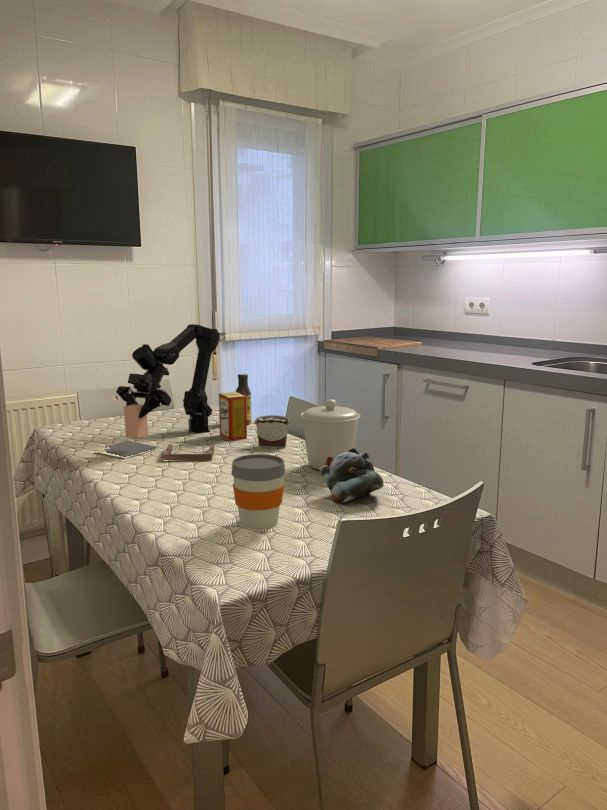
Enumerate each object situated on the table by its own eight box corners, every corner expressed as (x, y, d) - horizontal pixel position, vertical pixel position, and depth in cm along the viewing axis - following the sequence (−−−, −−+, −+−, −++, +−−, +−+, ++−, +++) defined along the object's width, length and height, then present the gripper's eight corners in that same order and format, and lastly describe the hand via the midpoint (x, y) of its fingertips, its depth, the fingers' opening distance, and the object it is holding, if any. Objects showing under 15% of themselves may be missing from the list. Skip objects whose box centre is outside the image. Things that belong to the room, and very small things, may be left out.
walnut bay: (168, 450, 207) (168, 444, 207) (214, 449, 208) (214, 444, 208) (163, 461, 195) (162, 455, 195) (211, 460, 196) (211, 454, 196)
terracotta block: (135, 433, 206) (133, 403, 204) (147, 434, 204) (146, 405, 202) (125, 436, 202) (123, 406, 200) (138, 438, 200) (136, 408, 198)
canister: (355, 477, 180) (357, 406, 176) (294, 473, 183) (295, 403, 179) (362, 460, 197) (363, 395, 193) (306, 456, 201) (307, 393, 197)
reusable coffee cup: (285, 512, 153) (285, 453, 150) (285, 532, 141) (285, 469, 138) (234, 512, 153) (233, 453, 150) (230, 532, 140) (229, 469, 137)
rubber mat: (126, 443, 216) (126, 440, 216) (156, 449, 209) (156, 446, 208) (94, 452, 204) (94, 449, 204) (124, 459, 197) (124, 456, 197)
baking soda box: (246, 438, 223) (246, 395, 220) (230, 440, 220) (229, 396, 217) (236, 433, 231) (235, 391, 228) (219, 435, 228) (218, 392, 225)
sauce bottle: (250, 425, 244) (250, 375, 240) (234, 425, 244) (233, 375, 240) (252, 421, 250) (251, 373, 246) (236, 421, 250) (236, 372, 246)
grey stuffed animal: (331, 507, 156) (315, 454, 159) (331, 509, 168) (316, 460, 171) (387, 490, 156) (370, 437, 159) (384, 493, 168) (368, 444, 171)
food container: (292, 443, 217) (292, 415, 215) (290, 447, 211) (290, 419, 209) (257, 442, 219) (257, 414, 217) (254, 446, 213) (254, 418, 211)
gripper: (117, 362, 205) (96, 400, 198) (164, 365, 198) (144, 405, 190) (134, 381, 214) (114, 419, 206) (179, 385, 207) (161, 424, 199)
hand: (132, 416), depth 200 cm, fingers closed on terracotta block, 5 cm apart
